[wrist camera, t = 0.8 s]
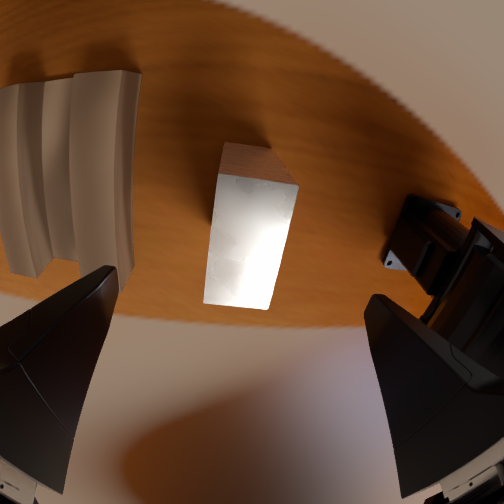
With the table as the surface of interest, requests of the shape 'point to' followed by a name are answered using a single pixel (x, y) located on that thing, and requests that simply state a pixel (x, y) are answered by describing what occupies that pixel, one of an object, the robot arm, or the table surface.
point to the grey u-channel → (69, 172)
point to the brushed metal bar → (248, 226)
